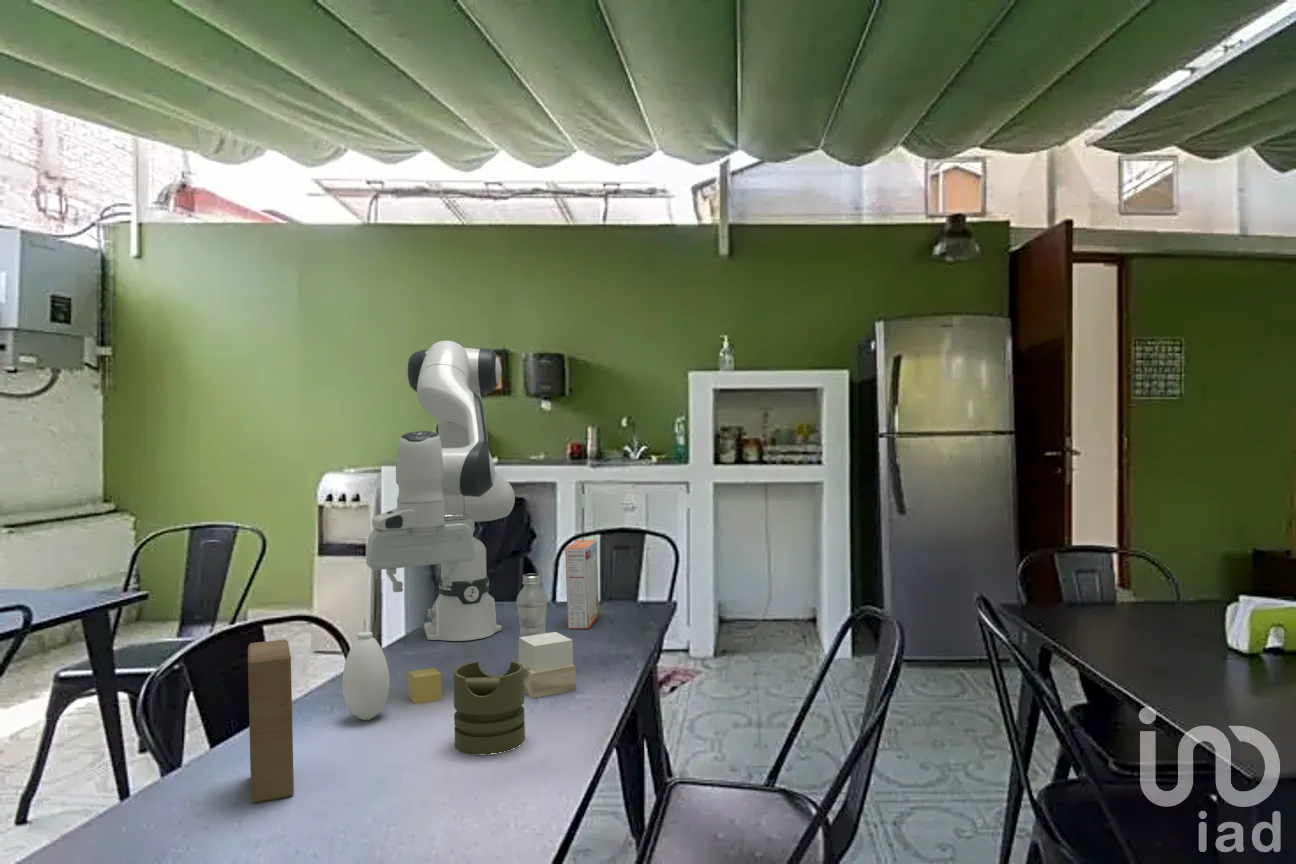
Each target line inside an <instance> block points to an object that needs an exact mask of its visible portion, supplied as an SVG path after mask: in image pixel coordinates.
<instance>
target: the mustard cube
mask: <svg viewBox="0 0 1296 864" xmlns="http://www.w3.org/2000/svg"><path fill="white" fill-rule="evenodd" d="M407 681H408V683H407V684H408V685H407V686H408V698H409V697H410V698H411V699H412V700H411V699H410V698H409V699H410V700H411V701H412V702H413V704H414V705H417V703H418V704H424V703H429V701H430V702H435V700H436V701H441V700H443V696H442V693H443V692H442V673H441V672H440V671H439V670H438V669H436V668H435V667H429V668H421V669H416V670H410V671H408V672H407ZM423 702H424V703H423Z"/></svg>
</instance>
